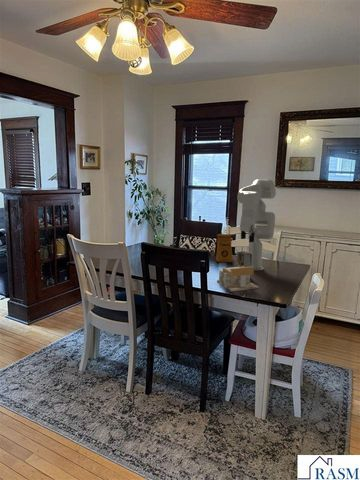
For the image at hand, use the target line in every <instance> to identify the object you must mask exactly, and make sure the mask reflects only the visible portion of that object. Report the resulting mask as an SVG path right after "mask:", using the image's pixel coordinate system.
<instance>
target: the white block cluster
mask: <svg viewBox="0 0 360 480" xmlns="http://www.w3.org/2000/svg"><path fill="white" fill-rule="evenodd" d="M225 268H226V269H228V270H230V271H231V268H240V267H236V266H233V267H225ZM218 272H219V275H218V279H217V280H216V283H218V284H220V285H221V286H222V287H224V288H226V289H227V290H228V291H229V292H238V291H246V290H255V289H256V290H257V289H259V285H256V284H255V283H253V282H251V278H250V275H241V276H231V275H229V274H227V273H226V272H224V271H223V269H219V271H218Z"/></svg>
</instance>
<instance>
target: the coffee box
mask: <svg viewBox="0 0 360 480" xmlns="http://www.w3.org/2000/svg"><path fill="white" fill-rule="evenodd" d="M251 260H252V254H250V253H249V252H247V251H237V252H236V260H235V261H236V262H235V264H236V266H235V267H241V266H244V267H251ZM251 277H252V274H251V275H250V279H251Z"/></svg>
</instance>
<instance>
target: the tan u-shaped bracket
mask: <svg viewBox="0 0 360 480" xmlns="http://www.w3.org/2000/svg"><path fill="white" fill-rule="evenodd" d="M226 268H227V267H222V270H223V271H224V272H226V273H227V274H229V275H231V276H241V275H251V276H252V275H254V274H255V273H254V272H255V270H254V267H253V266H251V267H244V266H241V267H240V268H233V267H230V268H231V271H230V270H228V269H226Z"/></svg>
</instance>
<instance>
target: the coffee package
mask: <svg viewBox="0 0 360 480" xmlns="http://www.w3.org/2000/svg"><path fill="white" fill-rule="evenodd" d="M216 237H217V240H216V241H217V243H216V244H217V245H216V255H215V261H216V262H219V263H232V261H233V247H232V234H229V233H228V234H227V233H226V234H224V233H221V234H220V233H217V235H216Z"/></svg>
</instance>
